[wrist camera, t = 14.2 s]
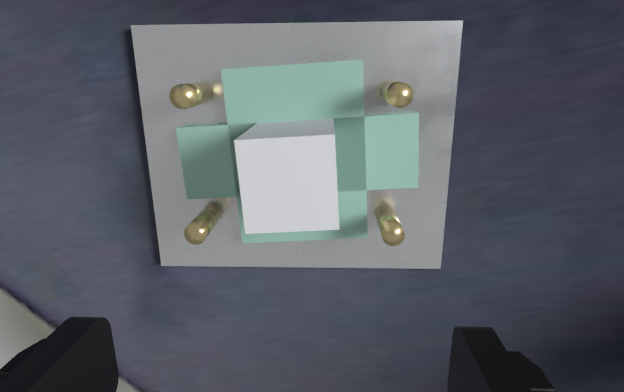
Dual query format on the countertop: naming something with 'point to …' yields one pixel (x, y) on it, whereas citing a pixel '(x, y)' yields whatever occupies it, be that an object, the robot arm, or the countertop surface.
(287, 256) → the chassis plate
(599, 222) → the countertop surface
